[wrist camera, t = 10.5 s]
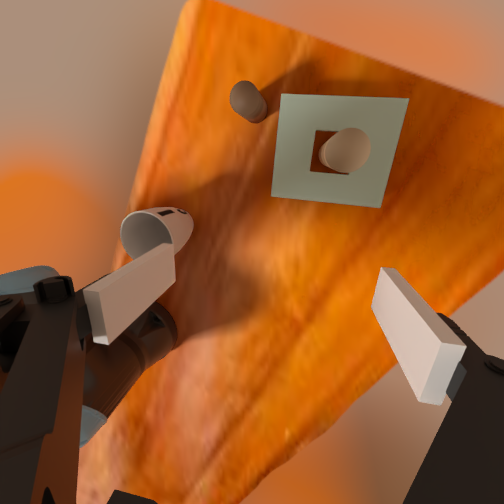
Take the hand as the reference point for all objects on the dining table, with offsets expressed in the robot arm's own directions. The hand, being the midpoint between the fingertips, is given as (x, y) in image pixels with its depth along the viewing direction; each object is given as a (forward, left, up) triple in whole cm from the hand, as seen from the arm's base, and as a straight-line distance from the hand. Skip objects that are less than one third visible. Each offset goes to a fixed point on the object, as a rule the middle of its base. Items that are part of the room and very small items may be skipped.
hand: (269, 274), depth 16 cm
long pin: (+4, +8, -25) cm, 26 cm away
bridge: (+4, +8, -25) cm, 26 cm away
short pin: (-7, +13, -25) cm, 29 cm away
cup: (-19, -5, -25) cm, 31 cm away
